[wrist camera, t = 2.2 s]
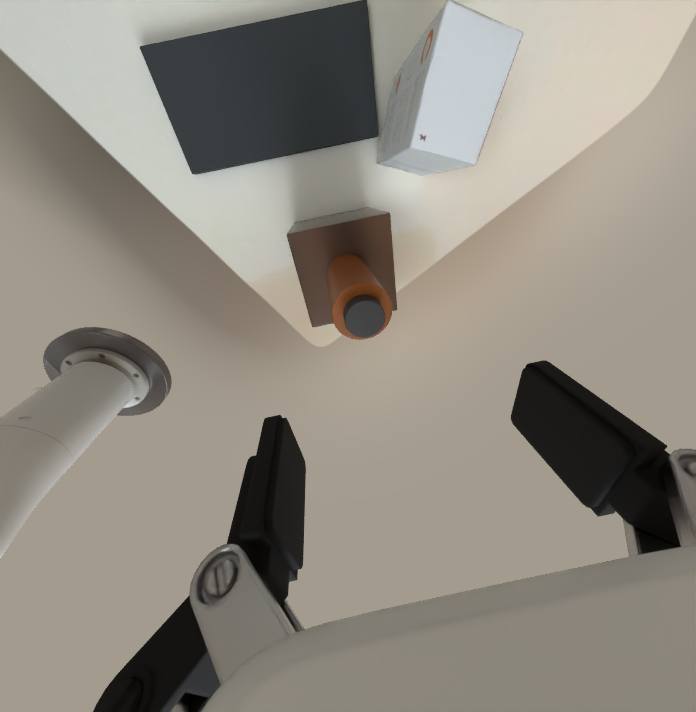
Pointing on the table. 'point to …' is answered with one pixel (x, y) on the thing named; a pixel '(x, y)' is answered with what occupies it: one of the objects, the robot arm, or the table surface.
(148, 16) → the table surface
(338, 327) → the spice bottle
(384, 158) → the small box
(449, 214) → the table surface
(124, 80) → the table surface
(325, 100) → the mat
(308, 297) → the bronze lidded cube
